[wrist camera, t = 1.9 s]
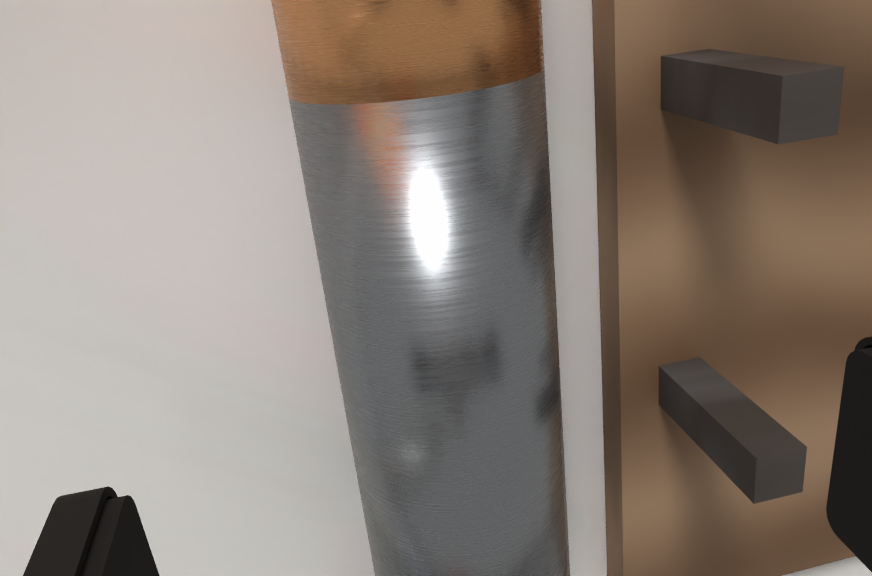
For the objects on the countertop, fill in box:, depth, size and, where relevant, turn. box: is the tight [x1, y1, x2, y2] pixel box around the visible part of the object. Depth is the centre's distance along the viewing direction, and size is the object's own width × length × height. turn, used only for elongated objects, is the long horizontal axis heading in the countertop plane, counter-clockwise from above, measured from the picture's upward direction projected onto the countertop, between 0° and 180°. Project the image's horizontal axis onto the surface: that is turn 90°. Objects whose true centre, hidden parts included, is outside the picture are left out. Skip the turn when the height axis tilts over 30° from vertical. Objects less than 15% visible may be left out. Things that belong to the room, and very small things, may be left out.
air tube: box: [271, 0, 570, 576], centre depth 17 cm, size 20×5×5 cm, turn 6°
